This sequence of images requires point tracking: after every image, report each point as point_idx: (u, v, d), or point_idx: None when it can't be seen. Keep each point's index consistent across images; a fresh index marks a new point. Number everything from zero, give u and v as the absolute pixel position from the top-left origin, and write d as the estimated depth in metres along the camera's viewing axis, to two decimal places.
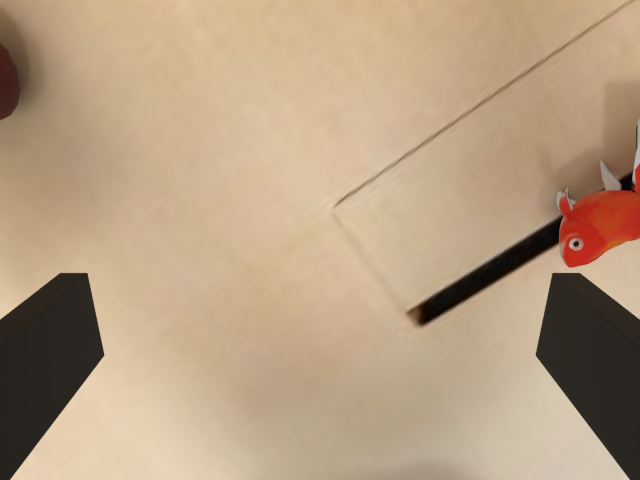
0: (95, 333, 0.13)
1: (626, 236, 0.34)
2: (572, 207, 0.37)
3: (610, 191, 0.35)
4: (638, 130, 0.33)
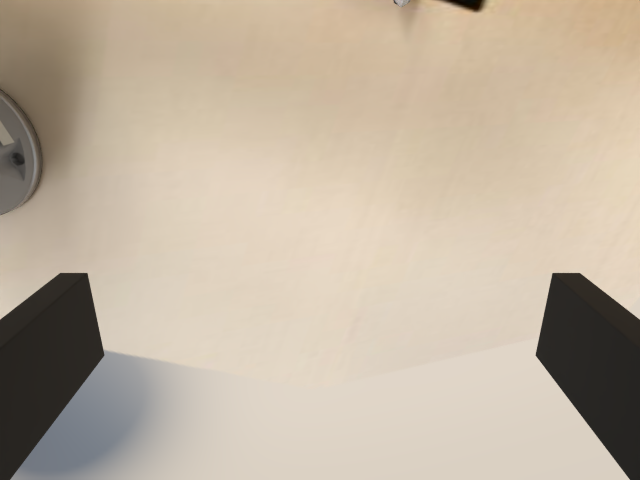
0: (95, 333, 0.13)
1: None
2: None
3: None
4: None
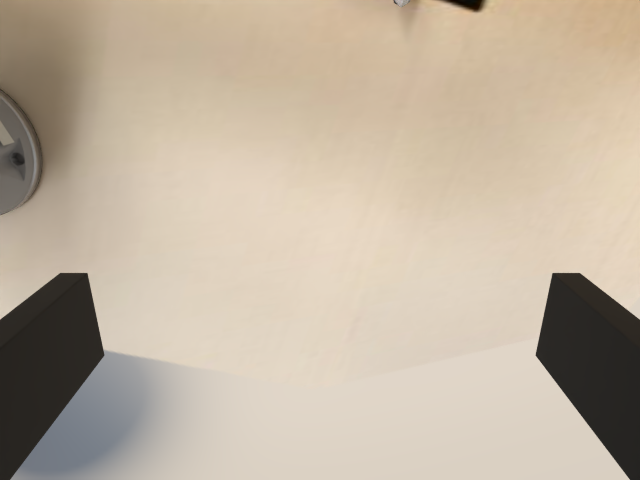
0: (95, 333, 0.13)
1: None
2: None
3: None
4: None
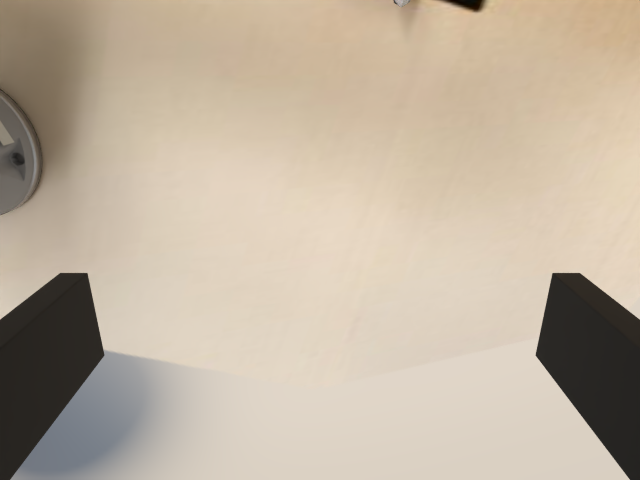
0: (95, 333, 0.13)
1: None
2: None
3: None
4: None
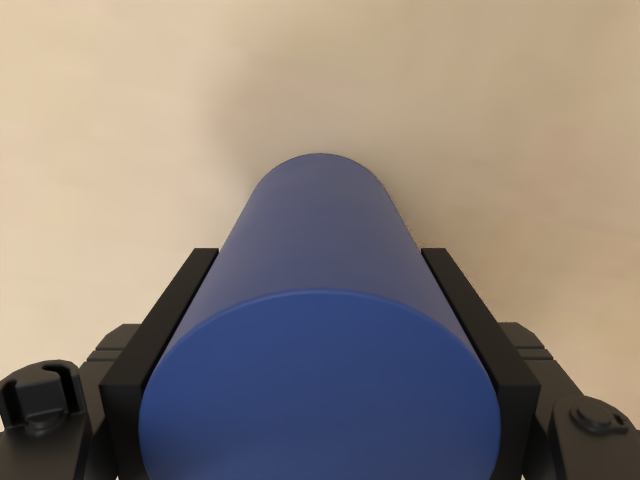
0: None
1: None
2: None
3: None
4: None
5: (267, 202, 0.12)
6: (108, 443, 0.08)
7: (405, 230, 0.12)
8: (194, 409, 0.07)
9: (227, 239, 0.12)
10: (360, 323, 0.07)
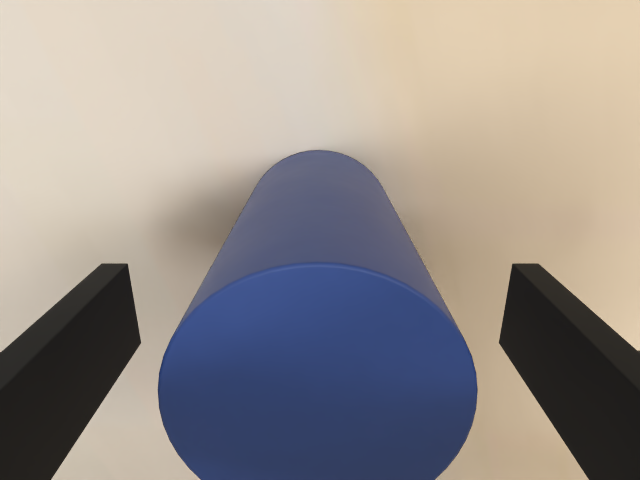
0: (133, 321, 0.13)
1: None
2: None
3: None
4: None
5: (270, 194, 0.13)
6: None
7: (397, 220, 0.13)
8: (207, 371, 0.09)
9: (233, 228, 0.13)
10: (352, 293, 0.08)
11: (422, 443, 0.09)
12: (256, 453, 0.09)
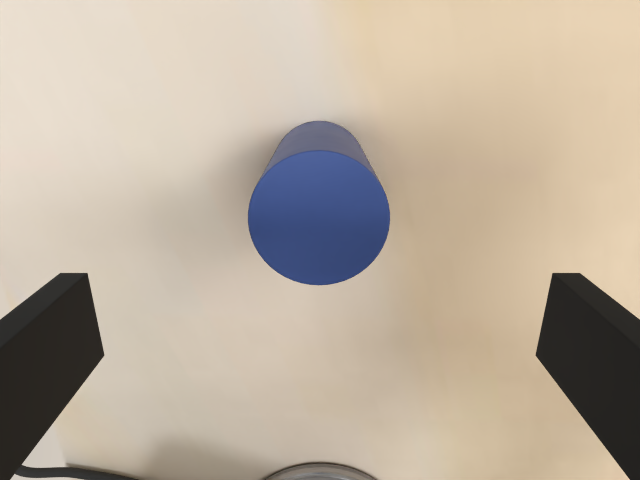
0: (95, 333, 0.13)
1: None
2: None
3: None
4: None
5: (292, 138, 0.24)
6: None
7: (362, 153, 0.24)
8: (270, 202, 0.20)
9: None
10: (333, 164, 0.19)
11: (366, 240, 0.20)
12: (290, 245, 0.20)
